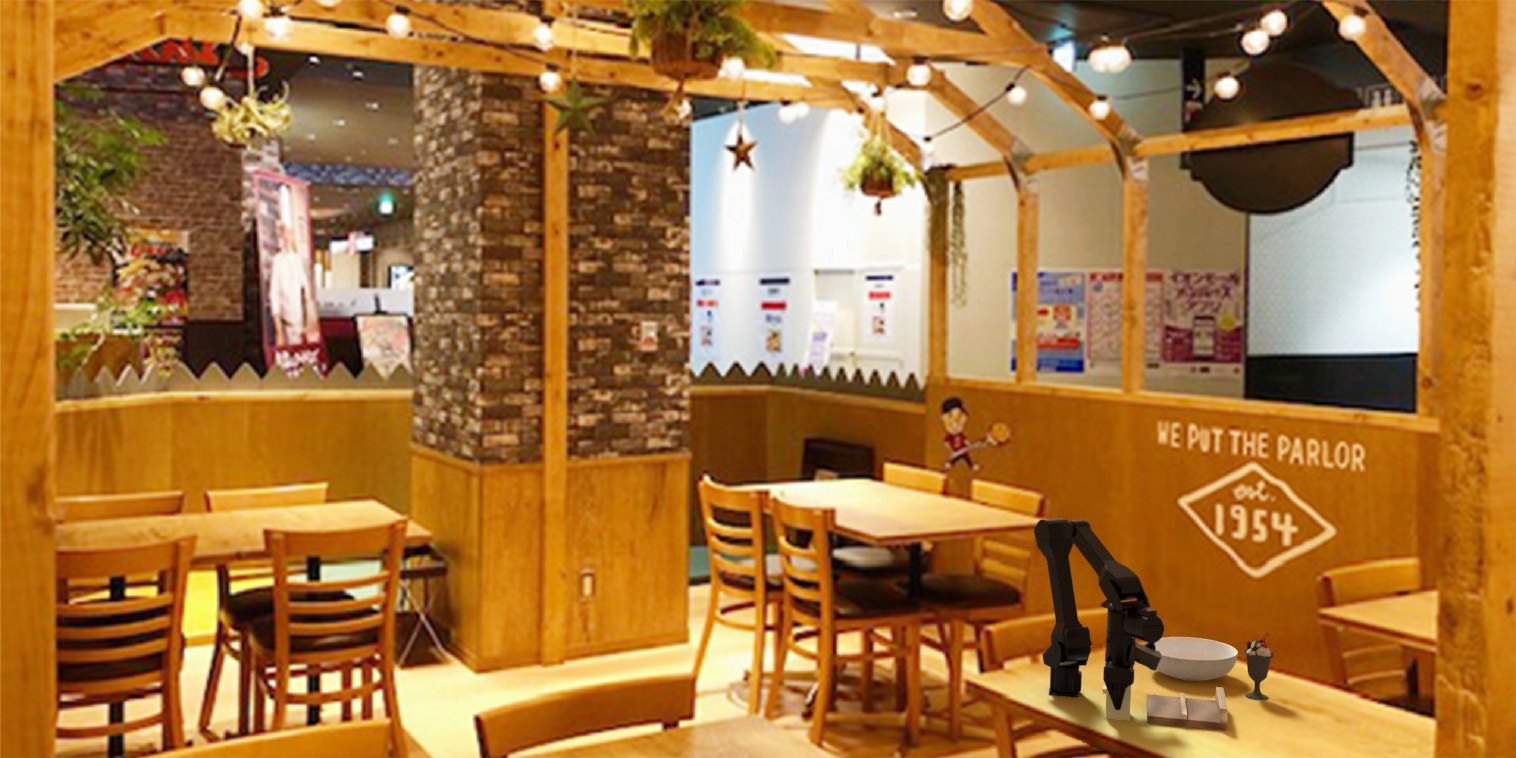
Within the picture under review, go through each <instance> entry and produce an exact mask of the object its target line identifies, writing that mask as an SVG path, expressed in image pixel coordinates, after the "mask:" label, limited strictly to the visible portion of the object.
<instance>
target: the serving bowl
mask: <svg viewBox="0 0 1516 758" xmlns="http://www.w3.org/2000/svg"><path fill="white" fill-rule="evenodd" d="M1155 647H1156V651H1159V652H1160V653H1161V660H1160V662H1159V664H1158V667H1157V669H1156V671H1158V672H1160V673H1162V674H1163V675H1166V676H1169V677H1172V678H1175V679H1178V680H1181V681H1187V680H1188V682H1205V681H1208V680H1214V679H1218V678H1221V677H1224V676H1226V675H1227V674H1229V673H1230V672H1231V671H1232V670H1233V668H1234V667H1235V665H1236V664H1237V661H1238V656H1239V655H1238V654H1239V652H1238V650H1237V649H1236V648H1235V647H1234V646H1231V645H1230V644H1227V643H1223V642H1220V641H1217V640H1214V639H1207V638H1200V637H1188V636H1170V637H1169V636H1168V637H1161V639H1160V640H1159V641H1157V642H1155Z"/></svg>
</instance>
